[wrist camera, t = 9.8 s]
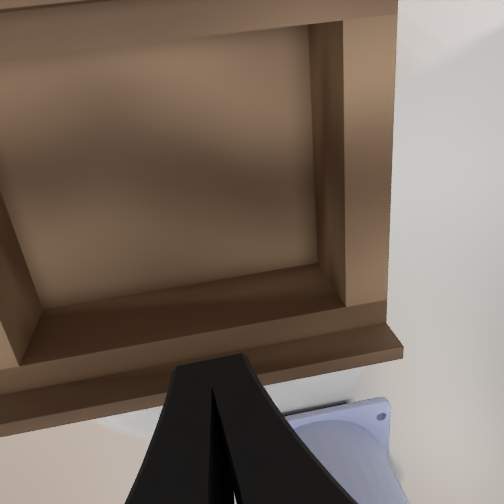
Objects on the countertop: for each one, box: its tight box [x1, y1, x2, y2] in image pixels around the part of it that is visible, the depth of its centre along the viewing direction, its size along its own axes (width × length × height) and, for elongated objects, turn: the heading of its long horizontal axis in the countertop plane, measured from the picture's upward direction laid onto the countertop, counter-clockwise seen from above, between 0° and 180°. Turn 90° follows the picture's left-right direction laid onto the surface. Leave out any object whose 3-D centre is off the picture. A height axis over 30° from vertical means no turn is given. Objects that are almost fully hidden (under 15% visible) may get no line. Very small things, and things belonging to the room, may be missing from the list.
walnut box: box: [0, 0, 404, 437], centre depth 15 cm, size 12×14×5 cm
